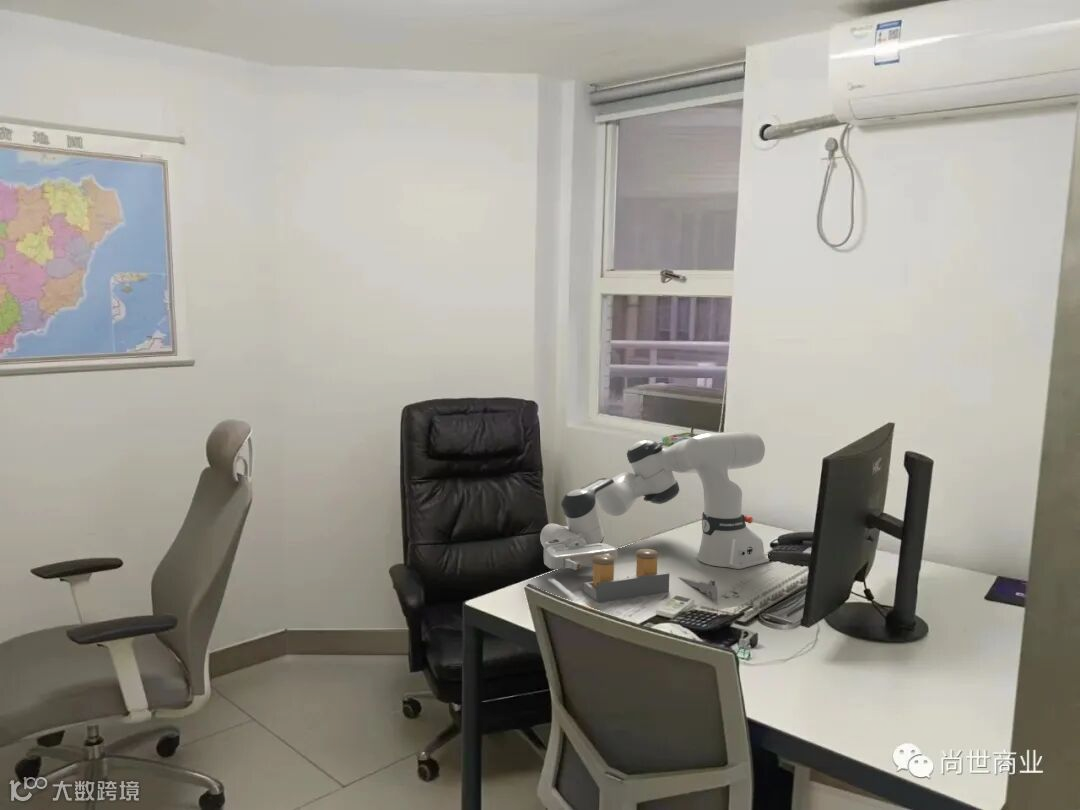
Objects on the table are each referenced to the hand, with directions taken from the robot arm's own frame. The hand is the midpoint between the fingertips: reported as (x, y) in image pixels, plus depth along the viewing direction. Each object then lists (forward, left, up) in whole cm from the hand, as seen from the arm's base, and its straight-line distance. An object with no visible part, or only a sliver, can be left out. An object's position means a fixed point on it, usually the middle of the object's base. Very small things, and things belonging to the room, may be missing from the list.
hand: (593, 564), depth 215 cm
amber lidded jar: (0, +5, -7) cm, 8 cm away
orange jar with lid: (-13, +5, -7) cm, 16 cm away
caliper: (-26, +10, -8) cm, 29 cm away
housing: (-7, +5, -8) cm, 11 cm away
